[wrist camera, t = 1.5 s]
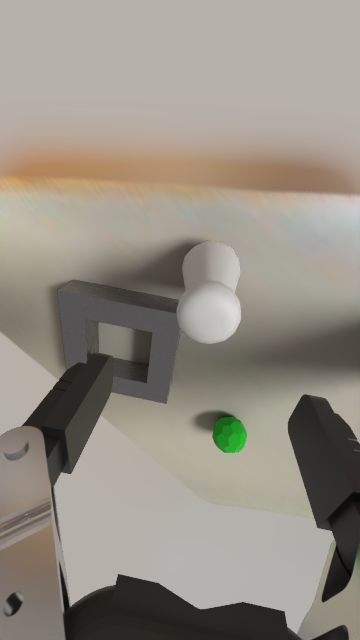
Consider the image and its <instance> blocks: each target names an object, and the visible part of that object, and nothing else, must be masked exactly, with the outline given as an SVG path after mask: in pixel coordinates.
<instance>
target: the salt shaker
mask: <svg viewBox="0 0 360 640" xmlns="http://www.w3.org/2000/svg"><path fill="white" fill-rule="evenodd" d="M182 272H183V278H184V284H185V290H186V291H185V292H184V293H183V294H182V295H181V297H180V300H179V303H178V307H177V310H176V311H177V319H178V324H179V327H180V328H181V330H182V331H183V332H184V333H185V335H186V336H187V337H189V338H191V339H193V340H194V341H196V342H198V343H207V344H214V343H218V342H221V341H225V340H226V339H227V338H229V337H230V336H231V335H232V334H234V333H235V331H236V329H237V327H238V325H239V323H240V320H241V308H240V302H239V299H238V298H237V296H236V294H235V290H236V286H237V283H238V279H239V275H240V265H239V259H238V258H237V256H236V254H235V253H234V251H233V249H232V248H230V247H228V246H226V245H225V244H223V243H221V242H215V241H205V242H203V243H201V244H198V245H196V246H194V247H193V248H192V249H191V250H190V251H189V252H188V254H187V255H186V256H185V258H184V262H183V266H182Z"/></svg>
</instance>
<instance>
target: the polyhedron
mask: <svg viewBox="0 0 360 640" xmlns="http://www.w3.org/2000/svg"><path fill="white" fill-rule="evenodd" d="M246 436H247V433H246V430H245V428H244V426H243V424H242V423H241V421H240V420H238V419H236V418H235V417H223V418H220V419H219V420H218V421H217V422H216V423H215V427H214V431H213V436H212V437H213V440H214V442H215V444H216V446H217V447H218V448H219V449H221V450H222V451H223V452H225V453H235V452H239V451H240V450H241V449H242V448H243V447H244V445H245V442H246Z"/></svg>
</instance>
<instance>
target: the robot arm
mask: <svg viewBox="0 0 360 640" xmlns="http://www.w3.org/2000/svg"><path fill="white" fill-rule="evenodd" d="M112 386H113V356H110V355H105V354H100V353H93V354H92V356H91V357H90V358H89V360H88V361H87V362H86V364H85V363H80V362H78V363H77V364H75V365H74V366H72V367H70V368H69V369H67V370H66V372H65V373H64V374H63V375H62V377H61V378H60V379H59V381H58V382H57V383H56V384H55V386H54V387H53V389H52V390H50V392H49V393H48V394H47V396H46V397H45V398H44V399H43V401H42V402H41V403H40V404H39V406H38V407H37V408H36V409H35V411H34V412H33V413H32V414H31V416H30V417H29V418H28V419H27V421H26V422H25V423H24V424H23V425H22V426H21V427H17V428H14V429H11V430H9V431H7V432H5V433H4V434H2V435H1V436H0V640H360V444H359V442H357V438H356V437H355V435H354V433H353V431H352V430H351V428H350V426H349V425H348V424H347V423H346V422H345V421H344V420H343V419H342V418H341V417H340V416H339V415H338V414H335V413H334V412H333V410H332V408H331V406H330V404H329V402H328V401H327V400H326V399H325V398H322V397H317V396H312V395H306V394H305V395H303V396H302V397H301V399H300V401H299V402H298V404H297V406H296V408H295V409H294V411H293V413H292V415H291V416H290V418H289V422H288V433H289V437H290V440H291V443H292V447H293V450H294V453H295V456H296V460H297V463H298V466H299V469H300V473H301V476H302V479H303V482H304V486H305V489H306V492H307V495H308V499H309V502H310V505H311V508H312V512H313V515H314V518H315V521H316V525H317V528H321V529H325V530H330V531H332V533H333V536H334V538H335V540H334V541H333V542H332V543H331V545H330V549H329V553H328V555H327V559H326V562H325V566H324V569H323V572H322V576H321V579H320V582H319V586H318V589H317V592H316V596H315V599H314V602H313V604H312V606H311V608H310V610H309V611H308V613H307V614H306V616H305V617H304V620H303V621H302V623H301V626H300V628H299V630H298V633H297V634H295V633H294V632H293V631H292V630H291V629H289V628H288V627H287V624H286V617H285V612H284V611H280V610H275V609H271V608H267V607H262V606H258V605H253V604H249V603H244V602H242V603H236V604H231V605H225V606H220V607H214V608H209V609H198V608H196V607H194V606H193V605H191V604H190V603H188V602H187V601H185V600H183V599H182V598H180V597H179V596H177V595H176V594H174V593H173V592H171V591H169V590H168V589H166V588H165V587H163V586H162V585H160V584H159V583H155V582H151V581H146V580H142V579H138V578H133V577H129V576H124V575H120V574H118V577H117V581H116V585H113V586H107V587H104V588H101V589H99V590H96V591H94V592H92V593H90V594H88V595H87V596H85V597H83V598H82V599H80V600H79V601H77V602H76V603H75V604H74V605H72V606H71V605H70V598H69V590H68V583H67V575H66V568H65V562H64V556H63V550H62V543H61V535H60V528H59V520H58V513H57V505H56V497H55V489H54V485H55V483H56V481H57V479H58V477H59V475H60V473H61V472H63V473H68V474H71V473H72V471H73V469H74V467H75V465H76V463H77V461H78V459H79V457H80V455H81V453H82V451H83V449H84V447H85V445H86V443H87V441H88V439H89V437H90V435H91V433H92V431H93V429H94V427H95V425H96V423H97V421H98V418H99V417H100V414H101V412H102V410H103V408H104V406H105V404H106V402H107V400H108V398H109V396H110V393H111V390H112Z"/></svg>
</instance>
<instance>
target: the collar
mask: <svg viewBox="0 0 360 640" xmlns="http://www.w3.org/2000/svg"><path fill="white" fill-rule="evenodd" d="M57 292H58V301H59V310H60V319H61V328H62V337H63V346H64V355H65V364H66V370H67V369H69V368H70V367H72V366H74V365H75V364H77V363H78V362H80V363H85V364H86V362H87V361H88V360H89V358H90V357H91V356H92V354H93V353H99V340H98V322H103V323H108V324H113V325H118V326H123V327H128V328H133V329H138V330H143V331H148V332H152V341H151V350H150V359H149V365H145V364H141V363H136V362H131V361H126V360H121V359H116V358H113V386H112V390H111V392H113V393H118V394H123V395H127V396H132V397H137V398H142V399H146V400H151V401H156V402H161V403H165V404H167V399H168V395H169V390H170V386H171V381H172V375H173V370H174V364H175V358H176V353H177V347H178V342H179V336H180V331H181V328H180V327H179V324H178V319H177V311H176V310H177V307H178V303H179V300H176V299H171V298H166V297H161V296H156V295H150V294H145V293H140V292H135V291H130V290H125V289H119V288H114V287H109V286H104V285H99V284H94V283H89V282H83V281H78V280H72V281H71V282H69V283H68V284H66V285H65V286H63V287H61V288H60V289H58V290H57Z"/></svg>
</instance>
